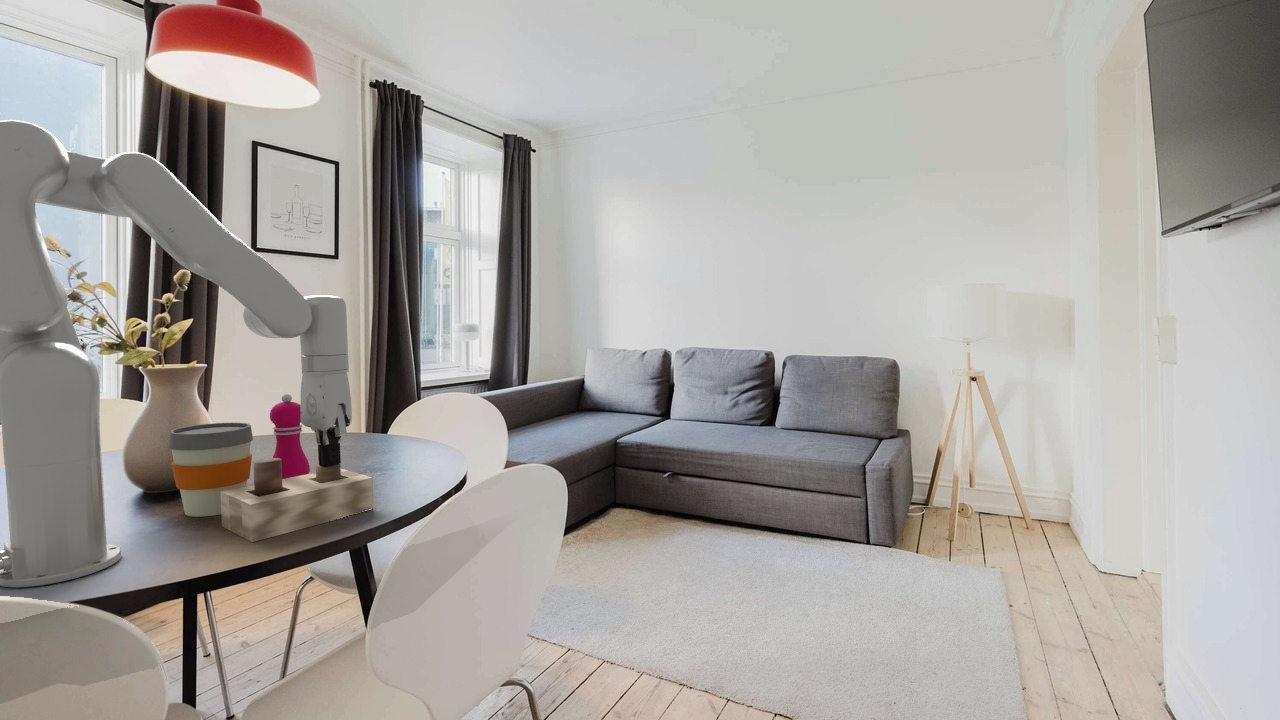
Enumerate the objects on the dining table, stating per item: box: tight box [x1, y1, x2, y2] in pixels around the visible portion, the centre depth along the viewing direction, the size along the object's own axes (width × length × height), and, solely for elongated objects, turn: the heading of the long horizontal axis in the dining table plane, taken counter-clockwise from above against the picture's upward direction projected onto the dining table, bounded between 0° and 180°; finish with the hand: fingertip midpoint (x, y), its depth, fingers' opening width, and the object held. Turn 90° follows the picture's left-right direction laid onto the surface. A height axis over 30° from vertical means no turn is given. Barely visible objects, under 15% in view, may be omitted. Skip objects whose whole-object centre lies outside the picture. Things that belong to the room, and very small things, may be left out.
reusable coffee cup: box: [168, 422, 254, 518], centre depth 109 cm, size 13×13×15 cm
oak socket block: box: [220, 468, 374, 543], centre depth 105 cm, size 20×12×6 cm, turn 144°
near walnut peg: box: [252, 457, 283, 497], centre depth 100 cm, size 4×4×6 cm
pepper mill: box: [269, 393, 311, 479], centre depth 120 cm, size 7×7×20 cm
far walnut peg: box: [315, 463, 342, 483], centre depth 109 cm, size 4×4×6 cm
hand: (329, 464), depth 109 cm, fingers closed
